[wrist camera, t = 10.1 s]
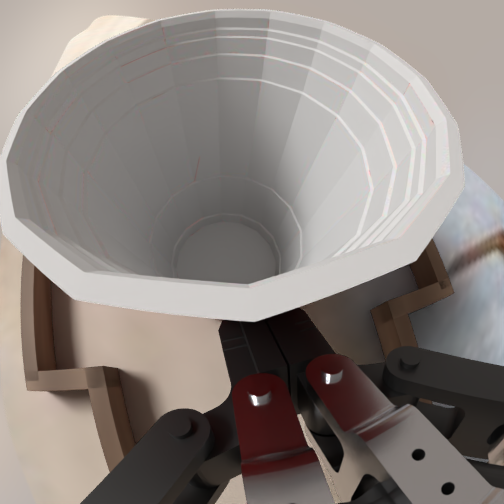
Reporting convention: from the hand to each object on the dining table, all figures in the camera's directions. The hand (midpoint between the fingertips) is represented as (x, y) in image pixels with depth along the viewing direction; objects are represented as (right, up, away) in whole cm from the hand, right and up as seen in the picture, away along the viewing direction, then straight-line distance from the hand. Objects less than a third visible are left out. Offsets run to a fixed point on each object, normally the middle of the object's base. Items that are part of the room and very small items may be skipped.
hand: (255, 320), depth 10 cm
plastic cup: (-2, +2, +6) cm, 6 cm away
